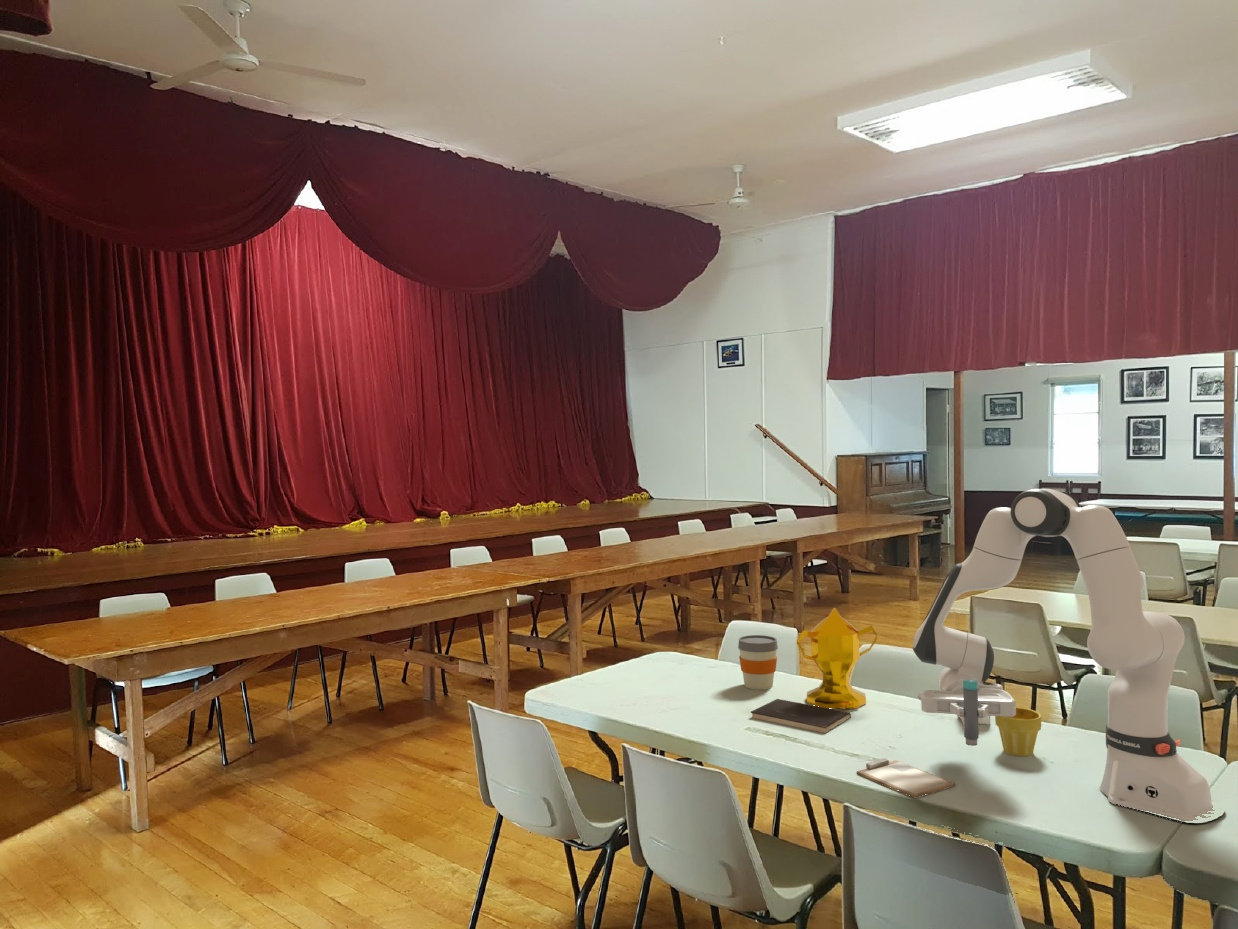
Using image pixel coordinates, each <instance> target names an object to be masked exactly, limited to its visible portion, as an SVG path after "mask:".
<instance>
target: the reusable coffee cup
mask: <svg viewBox="0 0 1238 929" xmlns="http://www.w3.org/2000/svg"><path fill="white" fill-rule="evenodd" d="M737 645H738V646H737V648H738V650H739V656H738V658H739V665H740V671H741V672H742V676H743V682H744V687H745V688H747V689H750V690H758V691H760V690H761V691H762V690H769V689H771V688H773V686H774V677H775V672H776V671H777V661H778V657H777V650H778V649H779V648H778V640H777V638H776V637H774V636H770V635H765V634H764V635H763V634H762V635H761V634H759V635H758V634H752V635H745V636H744V635H743V636H741V637H739V638H738V644H737Z"/></svg>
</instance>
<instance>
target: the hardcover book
mask: <svg viewBox="0 0 1238 929" xmlns="http://www.w3.org/2000/svg"><path fill="white" fill-rule="evenodd" d="M750 714H751V715H752V716H751V717H752V719H758V720H762V721H767V722H771V723H777V724H781V725H785V726H791V727H795V728H799V729H804V730H805V729H806V730H809V729H810V731H815V732H819V733H823V732H825V733H824V734H826V733H828V732H830V731H831V730H833V729H835V728H836V727H837V725H838V724H839V725H840V723H841V722H843V721H844V722H846V721H847V720H846V719H848V718H849V719H851V718H852V714H851V712H849V711H843V710H840V709H829V708H823V707H818V706H813V705H811V704H809V703H807V704H806V703H801V702H797V701H796V702H795V701H791V700H786V699H779V698H776V699H773V700H772V701H770V702H768V703H765V704H764V705H762V706H759V707H758V708H755V709H753V710H751V711H750ZM849 719H848V720H849ZM845 720H846V721H845ZM844 722H843V723H844ZM841 724H842V723H841ZM839 725H838V726H839ZM835 726H836V727H835ZM832 728H833V729H832ZM830 729H831V730H830Z"/></svg>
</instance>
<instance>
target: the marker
mask: <svg viewBox="0 0 1238 929" xmlns="http://www.w3.org/2000/svg"><path fill="white" fill-rule="evenodd" d="M963 704H964V723H963V737H964V738H965V744H966V745H968V746H972V747H973V746H977V745H978V740H979V738H980V737H979V731H980V730H979V724H978V681H975V680H963Z"/></svg>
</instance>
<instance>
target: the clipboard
mask: <svg viewBox="0 0 1238 929" xmlns="http://www.w3.org/2000/svg"><path fill="white" fill-rule="evenodd" d="M865 767H866V768H863V769H860V770H857V771H856V774H857V775H859V776H861V777H863V778H866V779H868V780H870V781H872V782H875V783H878V784H880V785H882V784H883V785H882V786H884V787H886V786H887V788H889V787H891V788H893V789H895V790H894V791H896V790H899V791H900V792H902V793H901V794H903V793H904V794H903V795H905V794H907V795H910V796H911V797H910V796H909V797H910V798H912V797H919V796H922V795H925V794H928V795H931V794H933V793H932V792H934V793H936V791H937V792H940V791H943V790H946V789H945V788H947V787H950V788H953V787H955V786H956V783H955V782H953V781H950V780H948V779H946V778H943V777H940V776H938V775H935V774H932V773H930V772H928V771H925V770H923V769H920V768H917V767H914V766H912V765H909V764H906V763H904V762H902V761H900V760H897V759H895V760H892V761H891V760H889V759H887V758H881V759H877V760H873V761H870V762H867V763H865ZM954 785H955V786H954ZM952 786H953V787H952ZM891 788H890V789H891ZM893 789H892V790H893ZM947 789H948V788H947ZM939 790H940V791H939ZM900 792H899V793H900ZM930 793H931V794H930ZM907 795H906V796H907ZM925 796H926V795H925ZM922 797H923V796H922ZM919 798H920V797H919Z"/></svg>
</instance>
